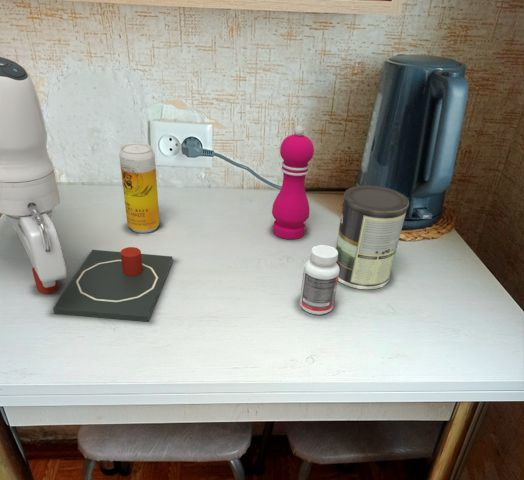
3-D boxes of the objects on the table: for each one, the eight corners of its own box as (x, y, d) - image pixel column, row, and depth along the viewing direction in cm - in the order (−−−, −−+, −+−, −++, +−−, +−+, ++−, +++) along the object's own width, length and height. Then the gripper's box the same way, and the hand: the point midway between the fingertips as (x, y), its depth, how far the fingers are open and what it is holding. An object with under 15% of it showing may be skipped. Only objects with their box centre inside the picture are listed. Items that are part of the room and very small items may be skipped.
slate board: (54, 313, 75) (52, 307, 74) (93, 254, 89) (92, 249, 88) (148, 321, 75) (147, 315, 74) (172, 261, 89) (172, 255, 88)
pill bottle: (338, 313, 80) (348, 258, 73) (305, 317, 78) (313, 261, 72) (325, 294, 84) (334, 241, 77) (294, 298, 82) (301, 243, 76)
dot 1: (33, 292, 79) (28, 272, 77) (42, 281, 81) (37, 262, 79) (54, 294, 79) (49, 274, 77) (61, 283, 81) (57, 263, 79)
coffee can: (321, 277, 88) (333, 199, 79) (344, 254, 95) (358, 179, 86) (377, 297, 84) (397, 217, 75) (397, 271, 91) (417, 195, 82)
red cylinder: (120, 274, 83) (117, 255, 80) (126, 265, 85) (124, 245, 83) (139, 277, 82) (137, 257, 80) (145, 267, 85) (143, 248, 83)
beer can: (121, 229, 97) (111, 149, 88) (140, 217, 101) (132, 139, 92) (147, 237, 95) (140, 156, 86) (166, 224, 100) (160, 146, 90)
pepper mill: (300, 244, 97) (313, 135, 84) (265, 235, 98) (272, 127, 86) (311, 228, 102) (325, 124, 89) (277, 221, 104) (286, 117, 91)
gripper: (67, 217, 65) (85, 306, 74) (31, 164, 78) (50, 245, 87) (15, 226, 62) (39, 318, 71) (-13, 169, 75) (10, 252, 84)
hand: (45, 277), depth 79 cm, fingers closed on dot 1, 3 cm apart
